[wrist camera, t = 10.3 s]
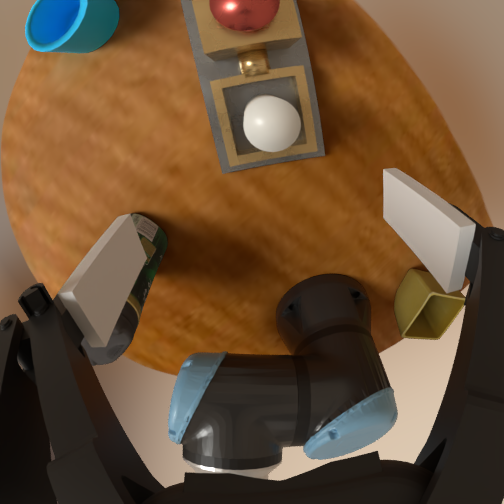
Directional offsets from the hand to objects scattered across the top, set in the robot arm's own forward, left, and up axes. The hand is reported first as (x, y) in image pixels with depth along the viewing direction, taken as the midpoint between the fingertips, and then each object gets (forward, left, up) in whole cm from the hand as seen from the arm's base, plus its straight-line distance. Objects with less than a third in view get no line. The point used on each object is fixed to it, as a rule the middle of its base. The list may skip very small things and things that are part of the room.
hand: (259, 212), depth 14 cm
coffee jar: (-10, +18, -21) cm, 30 cm away
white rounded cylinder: (+3, -2, -20) cm, 20 cm away
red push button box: (+8, -2, -21) cm, 22 cm away
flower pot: (-26, -22, -21) cm, 40 cm away
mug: (+22, +14, -21) cm, 33 cm away
